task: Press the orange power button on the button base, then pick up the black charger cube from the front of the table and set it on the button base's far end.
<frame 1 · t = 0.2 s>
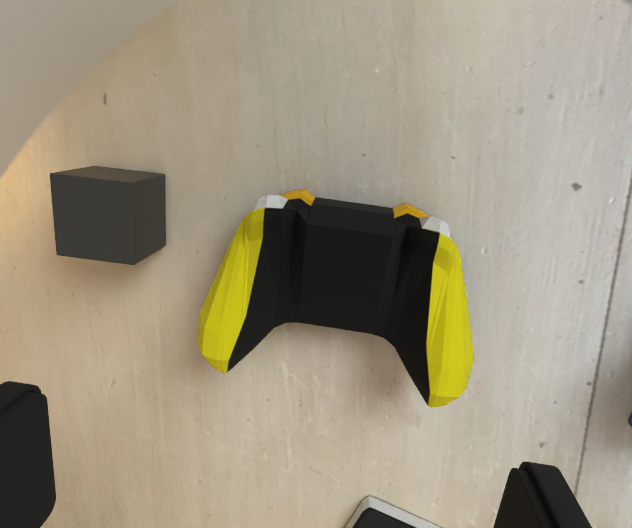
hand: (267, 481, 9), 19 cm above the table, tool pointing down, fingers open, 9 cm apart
charger: (130, 206, 27), on the table
gaming controller: (343, 274, 27), on the table
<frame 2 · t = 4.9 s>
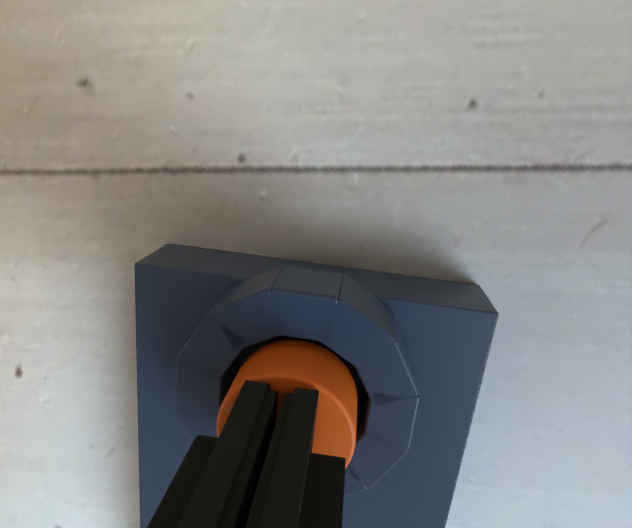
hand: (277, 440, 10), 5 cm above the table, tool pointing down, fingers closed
button base: (299, 444, 16), on the table
power button: (290, 413, 11), point 4 cm above the table, slide at -0.1 cm, touching gripper
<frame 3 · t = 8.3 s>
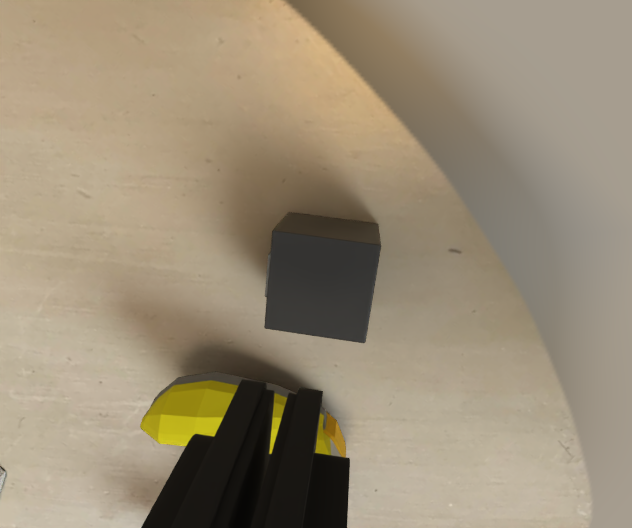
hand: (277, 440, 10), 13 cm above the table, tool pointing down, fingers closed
charger: (327, 260, 23), on the table
gaming controller: (257, 464, 27), on the table
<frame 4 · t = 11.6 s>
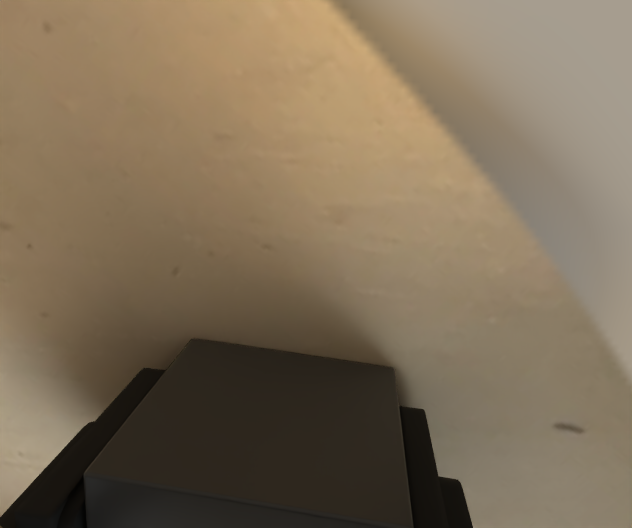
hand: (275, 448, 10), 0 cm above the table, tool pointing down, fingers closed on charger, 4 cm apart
charger: (283, 437, 10), on the table, touching gripper
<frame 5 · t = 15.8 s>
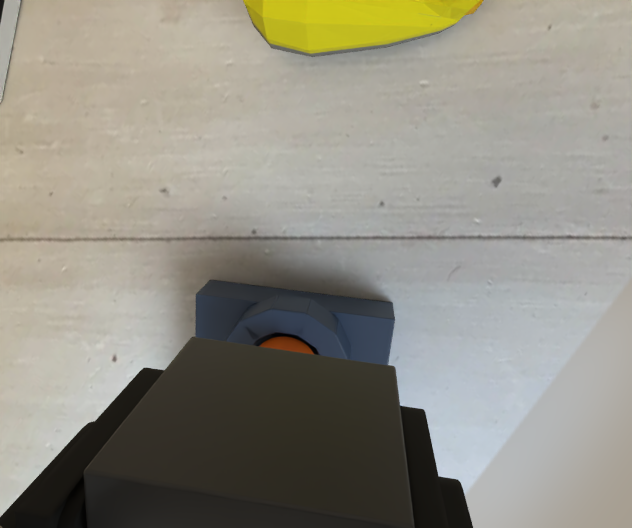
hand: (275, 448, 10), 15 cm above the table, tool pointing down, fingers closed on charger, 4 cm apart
charger: (283, 435, 10), point 14 cm above the table, touching gripper
button base: (290, 401, 27), on the table
power button: (282, 375, 21), point 4 cm above the table, slide at 0.1 cm
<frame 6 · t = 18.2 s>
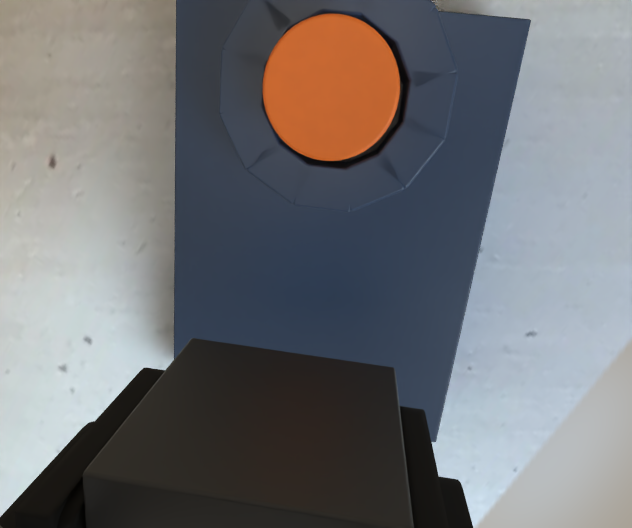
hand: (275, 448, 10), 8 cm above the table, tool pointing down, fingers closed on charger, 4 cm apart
charger: (283, 437, 10), point 8 cm above the table, touching gripper
button base: (327, 227, 17), on the table
power button: (332, 92, 11), point 4 cm above the table, slide at 0.1 cm
when the fingers open (3 cm above the table, at t = 20.0 s): charger stays where it is, resting on button base.
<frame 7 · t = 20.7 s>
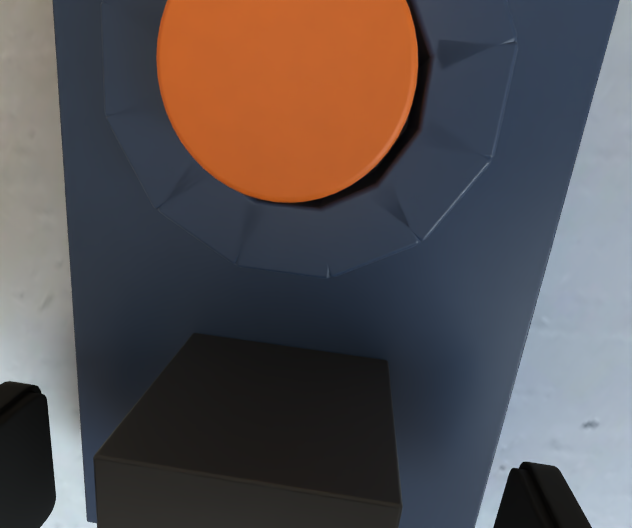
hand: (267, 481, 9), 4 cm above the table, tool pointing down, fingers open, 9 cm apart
charger: (281, 428, 11), point 2 cm above the table, touching button base
button base: (303, 277, 12), on the table
power button: (293, 77, 6), point 4 cm above the table, slide at 0.1 cm
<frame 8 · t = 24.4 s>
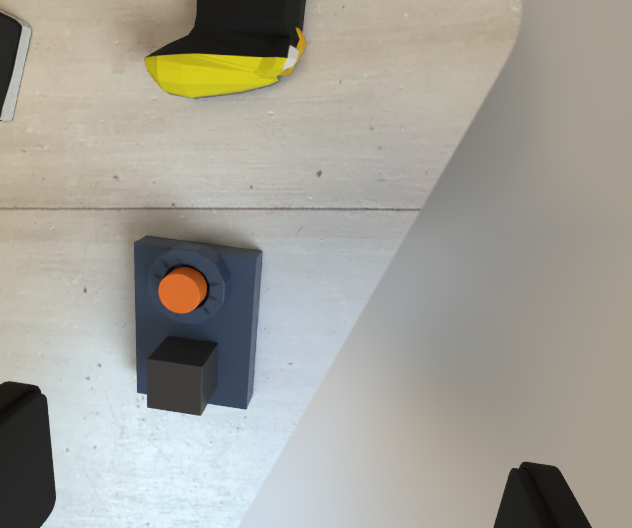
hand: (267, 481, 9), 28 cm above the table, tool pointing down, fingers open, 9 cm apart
charger: (192, 361, 39), point 2 cm above the table, touching button base
button base: (201, 319, 40), on the table
power button: (183, 289, 34), point 4 cm above the table, slide at 0.1 cm
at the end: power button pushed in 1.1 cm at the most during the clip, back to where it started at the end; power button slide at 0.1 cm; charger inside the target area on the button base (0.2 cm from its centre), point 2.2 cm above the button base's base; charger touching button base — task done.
